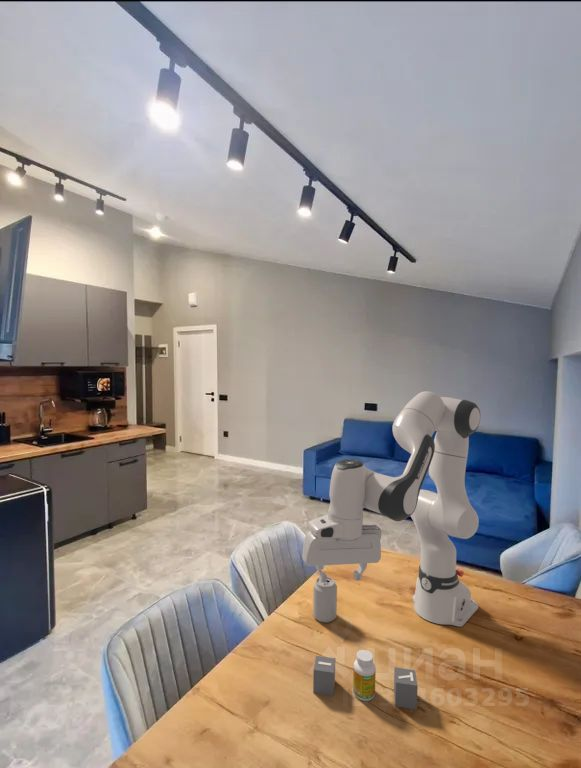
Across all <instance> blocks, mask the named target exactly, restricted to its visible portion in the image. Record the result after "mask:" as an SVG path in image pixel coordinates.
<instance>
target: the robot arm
mask: <svg viewBox="0 0 581 768" xmlns="http://www.w3.org/2000/svg"><path fill="white" fill-rule="evenodd" d="M480 422H481V410H480V408H479V406H478V404H476V403H475V402H473V401H470V400H467V399H459V398H454V397H448V396H440V395H438V394H437V393H435V392H433V391H426V390H425V391H420V392H419V393H417V394H416V395H414V396H413V398H412V399H411V400H409V401H408V402H407V404H405V406H403V408H402V410H401V411H400V412H399V413H398V414H397V416H396V417H395V419H394V421H393V423H392V435H393V437H394V439H395V441H396V443H397V444H398V445H399V447H401V448H402V449H403V450H404V451H407V453H409V454H410V457H409V458H408V461H407V464H406V466H405V467H404V471H403V473H402V474H401V475H399V476H396V477H395V476H391V475H386V474H384V473H383V474H382V473H379V472H376V471H373V470H371V469H369V468H368V467H367V466H366V465H365V464H364V462H363V461H361V460H358V459H352V458H351V459H343V460H339V461H337V462H336V463H335V464H334V467H333V469H332V472H331V476H330V482H329V483H330V484H329V492H328V493H329V494H328V496H329V500H330V502H329V506H328V510H327V514H325V515H322V516H320V517H316V518H314V519H310V520H309V521H308V529H309V531H308V532H307V533H306V535H305V536H304V541H303V546H302V554H301V555H302V556H301V557H302V559H303V562H304V563H305V564H306V566H307V567H315V568H316V570H317V572H318V578H319V581H320V582H321V583H322V582H327V580H326V579H327V577H328V575H327V574H326V572H323V571H322V570H324V569H325V566H338V565H359V566H358V567H357V569H356V570H353V579H354V580H355V581H362V579H363V574H364V572H365V571H366V569H367V567H368V564H377V563H379V562H380V560H381V557H382V545H381V539H382V530H381V528H380V527H379V526H377V524H364V523H363V522H364V511H363V510H364V509H367V510H369V511H373V512H375V513H378V514H381V515H382V516H384V517H386V518H388V519H389V520H392V521H394V522H403V521H404V520H406V519H408V518H409V517H411V519H412V521H413V523H414V526H415V529H416V532H417V535H418V539H419V540H418V541H419V544H420V564H419V566H418V577H417V578H416V584H415V591H414V592H415V593H414V594H413V595H412V601H413V609H414V611H415V613H416V614H417V615H418V616H419V617H421V618H422V619H424V620H426V621H427V622H431V623H433V624H438V625H448V626H450V625H451V626H453V627H455V626H456V627H460V628H461V627H464V625H465V624H466V623H467V622H468V621H469V620H470V618H471V617H472V616H473V615H474V614H475V613H476V612H477V611H478V610H479V604H478V603H477V602H476V601H475V600H474V599H473V598H472V594H471V590H470V589H469V587H468V586H467V585H466V584H464V583H463V582H462V581H460V580H459V577H460V578H462V577H463V576H464V575H465V574H464V570H461V569H460V568H457V548H456V546H455V544H454V543H453V541H452V540H451V539H450V537H453V538H458V539H463V540H464V539H465V540H468V539H469V538H472V537H473V536H474V535H475V534H476V533H477V531H478V529H479V526H480V525H479V520H480V519H479V516H478V513H477V511H476V510H475V509H474V508H473V506H472V505H471V503H470V499H469V496H468V494H467V490H466V485H465V482H466V481H465V479H466V469H467V462H468V455H469V443H470V439H469V437H470V435H472V434H474V433H475V432H476V431H477V429H478V428H479V425H480ZM435 432H436V433H435ZM434 433H435V436H434V439H433V435H434ZM427 474H428V475H429V478H430V479H431V480H432V481H433V482H434V485H435V488H436V492H434V491H431V490H428V489H422V487H423V484H424V482H425V479H426V477H427ZM449 536H450V537H449Z"/></svg>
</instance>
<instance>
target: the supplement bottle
mask: <svg viewBox="0 0 581 768" xmlns="http://www.w3.org/2000/svg"><path fill="white" fill-rule="evenodd" d="M376 668H377V667H376V664H375V663H374V656H373V654H372V652H371V651H369V650H366V649H360V650H358V651H357V653H356V659H355V660H354V662H353V677H352V679H353V680H352V682H353V684H352V691H353V694H354V696H355V697H356V698H357V699H358V700H360V701H363V702H369V701H372V700H373V699H374V698H375V696H376V675H377V674H376V672H377V670H376Z"/></svg>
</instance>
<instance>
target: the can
mask: <svg viewBox="0 0 581 768" xmlns="http://www.w3.org/2000/svg"><path fill="white" fill-rule="evenodd" d="M326 580H327V582H322V583H321V582H320V581H319V577H316V580H315V582H314V583H313V598H312V600H313V601H312V602H313V603H312V604H313V605H312V608H313V609H312V615H313V617H314V618H315V619H316V620H317V622H320V623H324V624H325V623H326V624H327V623H332V621H334V620H335V619H336V618H337V605H338V603H337V602H338V601H337V599H338V586H337V585H338V584H336V581H335V579H333V578H332V577H330V576H327V579H326Z"/></svg>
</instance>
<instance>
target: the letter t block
mask: <svg viewBox="0 0 581 768" xmlns="http://www.w3.org/2000/svg"><path fill="white" fill-rule="evenodd" d="M393 668H394V670H393V671H394V675H393V679H394V680H393V695H394V697H393V698H394V706H395V707H398V708H402V709H404V708H405V709H410V710H416V711H417V710H418V679H417V674H416V670H415V669H409V668H404V667H396V666H394V667H393Z"/></svg>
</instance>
